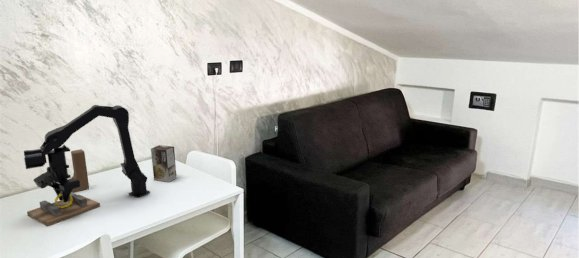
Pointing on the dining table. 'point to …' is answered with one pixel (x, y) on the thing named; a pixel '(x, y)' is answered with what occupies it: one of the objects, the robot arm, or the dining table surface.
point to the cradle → (62, 209)
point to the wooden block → (79, 169)
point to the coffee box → (163, 163)
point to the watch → (65, 205)
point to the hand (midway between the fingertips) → (63, 201)
